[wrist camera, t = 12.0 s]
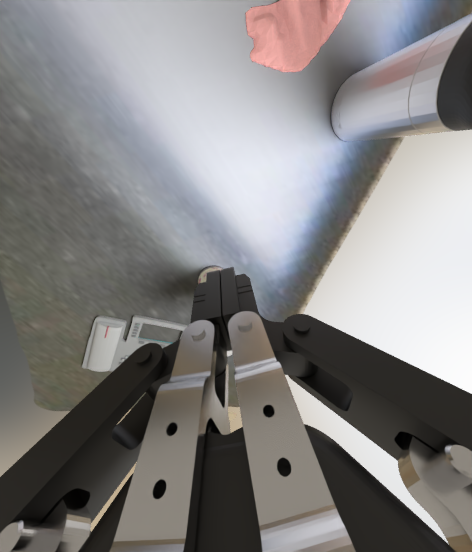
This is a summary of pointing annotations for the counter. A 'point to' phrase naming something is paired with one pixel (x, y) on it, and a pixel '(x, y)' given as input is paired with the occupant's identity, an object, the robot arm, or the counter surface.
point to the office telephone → (118, 341)
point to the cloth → (292, 31)
